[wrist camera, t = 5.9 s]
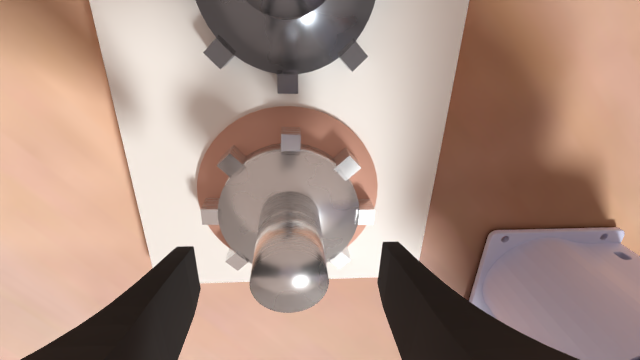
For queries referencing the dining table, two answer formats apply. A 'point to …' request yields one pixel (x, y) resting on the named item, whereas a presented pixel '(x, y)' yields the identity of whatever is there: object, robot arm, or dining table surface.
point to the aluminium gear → (288, 218)
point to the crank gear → (286, 34)
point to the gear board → (278, 120)
